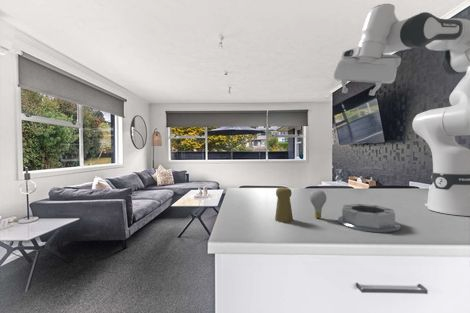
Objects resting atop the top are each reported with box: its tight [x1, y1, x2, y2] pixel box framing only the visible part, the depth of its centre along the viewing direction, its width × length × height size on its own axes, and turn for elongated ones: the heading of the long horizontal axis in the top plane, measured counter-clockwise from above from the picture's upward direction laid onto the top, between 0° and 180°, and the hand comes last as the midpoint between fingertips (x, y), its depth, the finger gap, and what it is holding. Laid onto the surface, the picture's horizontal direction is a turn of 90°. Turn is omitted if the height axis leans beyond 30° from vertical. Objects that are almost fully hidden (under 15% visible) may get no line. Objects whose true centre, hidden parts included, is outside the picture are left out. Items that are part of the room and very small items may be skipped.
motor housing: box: [337, 203, 401, 234], centre depth 74 cm, size 17×17×5 cm
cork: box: [274, 187, 294, 224], centre depth 79 cm, size 6×6×11 cm
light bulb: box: [309, 189, 327, 219], centre depth 80 cm, size 6×6×10 cm
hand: (357, 94), depth 85 cm, fingers open, 8 cm apart
